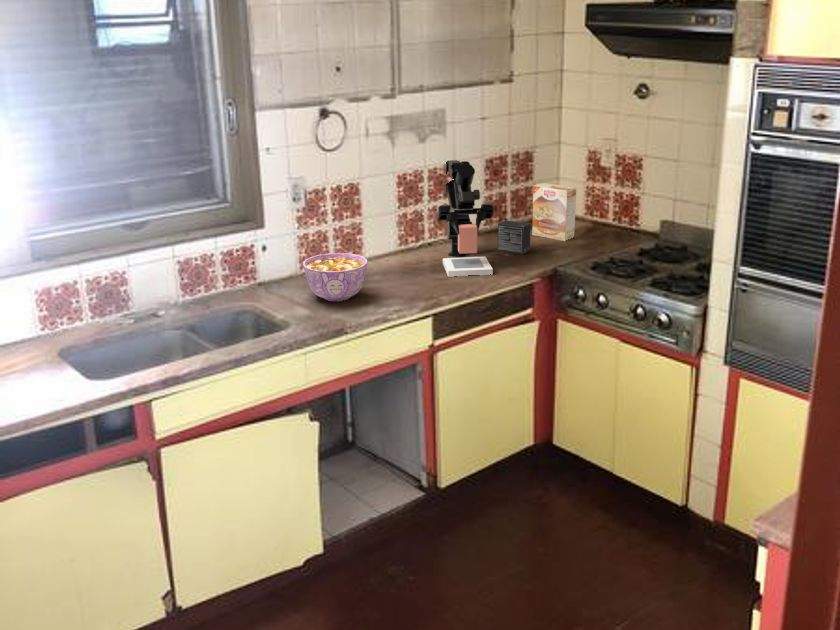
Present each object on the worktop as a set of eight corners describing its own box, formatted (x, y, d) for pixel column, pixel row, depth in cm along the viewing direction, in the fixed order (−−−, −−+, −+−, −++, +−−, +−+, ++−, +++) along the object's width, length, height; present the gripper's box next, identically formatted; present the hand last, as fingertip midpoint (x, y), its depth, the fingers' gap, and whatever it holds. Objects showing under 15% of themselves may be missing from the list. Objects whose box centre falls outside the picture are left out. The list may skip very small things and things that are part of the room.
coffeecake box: (531, 235, 356) (532, 185, 349) (541, 231, 361) (543, 182, 354) (564, 241, 346) (567, 190, 340) (574, 237, 352) (577, 187, 345)
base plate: (442, 263, 322) (442, 257, 321) (485, 261, 323) (485, 255, 323) (448, 276, 308) (448, 270, 307) (492, 274, 309) (492, 268, 309)
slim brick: (475, 249, 316) (475, 224, 312) (477, 252, 312) (477, 227, 309) (457, 250, 315) (457, 224, 312) (459, 253, 311) (459, 227, 308)
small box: (530, 250, 336) (531, 222, 332) (522, 255, 331) (523, 226, 327) (505, 246, 341) (505, 219, 337) (496, 251, 336) (497, 223, 332)
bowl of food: (335, 312, 277) (333, 275, 273) (291, 298, 289) (289, 263, 285) (381, 296, 290) (380, 260, 286) (338, 283, 303) (337, 249, 299)
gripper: (438, 182, 308) (442, 222, 302) (493, 180, 310) (498, 220, 303) (435, 199, 318) (439, 239, 312) (489, 197, 320) (494, 237, 314)
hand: (468, 233), depth 310 cm, fingers closed on slim brick, 6 cm apart
